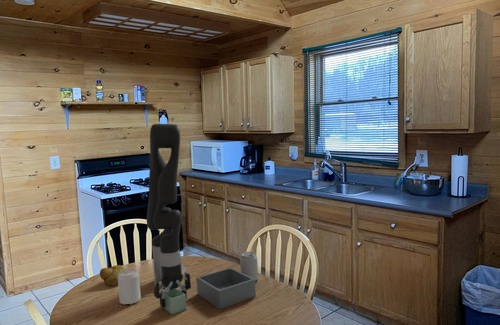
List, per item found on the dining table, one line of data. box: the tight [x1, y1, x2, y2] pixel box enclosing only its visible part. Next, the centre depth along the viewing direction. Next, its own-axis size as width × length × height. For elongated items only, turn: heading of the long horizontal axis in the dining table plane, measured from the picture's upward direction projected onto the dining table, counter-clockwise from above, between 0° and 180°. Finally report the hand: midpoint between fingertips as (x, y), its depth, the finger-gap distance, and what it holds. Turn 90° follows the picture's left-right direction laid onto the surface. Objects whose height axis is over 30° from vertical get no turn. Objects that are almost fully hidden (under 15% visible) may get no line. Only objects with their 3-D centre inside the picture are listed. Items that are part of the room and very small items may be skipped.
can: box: [239, 251, 259, 282], centre depth 174 cm, size 8×8×12 cm
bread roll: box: [99, 264, 127, 286], centre depth 179 cm, size 13×10×8 cm
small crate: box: [164, 288, 187, 315], centre depth 151 cm, size 9×6×6 cm, turn 36°
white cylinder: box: [117, 268, 142, 305], centre depth 158 cm, size 8×8×12 cm
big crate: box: [196, 267, 257, 310], centre depth 160 cm, size 18×17×7 cm
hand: (173, 303), depth 151 cm, fingers open, 8 cm apart
